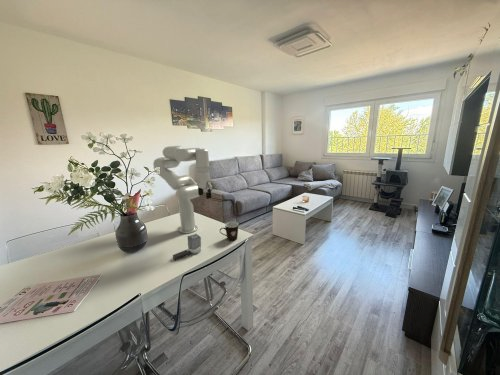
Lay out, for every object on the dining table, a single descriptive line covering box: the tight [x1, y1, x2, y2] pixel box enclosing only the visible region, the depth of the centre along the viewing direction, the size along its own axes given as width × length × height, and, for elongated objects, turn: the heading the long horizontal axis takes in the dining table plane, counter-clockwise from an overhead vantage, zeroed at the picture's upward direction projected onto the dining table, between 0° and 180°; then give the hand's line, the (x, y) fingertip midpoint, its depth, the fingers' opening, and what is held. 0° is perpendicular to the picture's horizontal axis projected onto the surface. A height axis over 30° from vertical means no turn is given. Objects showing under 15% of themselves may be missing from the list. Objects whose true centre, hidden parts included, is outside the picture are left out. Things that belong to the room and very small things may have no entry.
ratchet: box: [172, 245, 202, 262], centre depth 116 cm, size 7×16×7 cm, turn 132°
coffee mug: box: [219, 221, 239, 242], centre depth 132 cm, size 12×9×10 cm
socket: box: [187, 233, 202, 250], centre depth 118 cm, size 5×5×6 cm
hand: (204, 196), depth 128 cm, fingers open, 9 cm apart
